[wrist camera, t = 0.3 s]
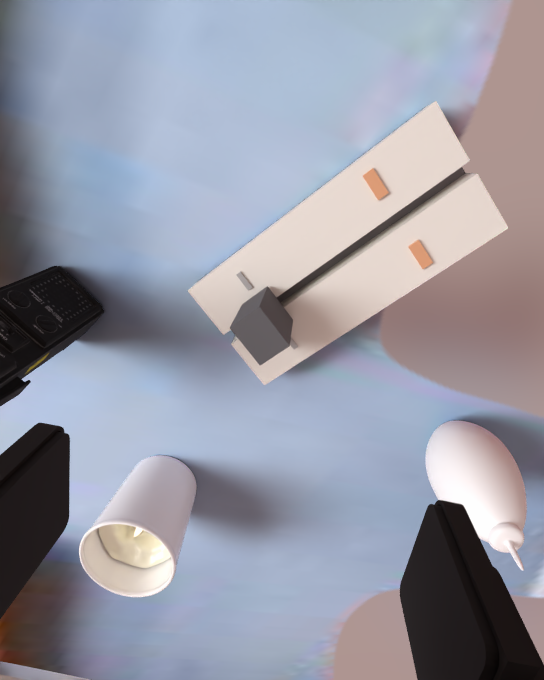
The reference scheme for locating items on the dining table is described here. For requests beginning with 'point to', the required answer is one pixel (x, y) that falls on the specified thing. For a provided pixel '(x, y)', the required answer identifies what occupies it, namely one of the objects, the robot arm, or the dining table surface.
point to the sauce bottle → (479, 482)
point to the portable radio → (40, 324)
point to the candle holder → (141, 529)
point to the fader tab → (263, 326)
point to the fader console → (359, 240)
